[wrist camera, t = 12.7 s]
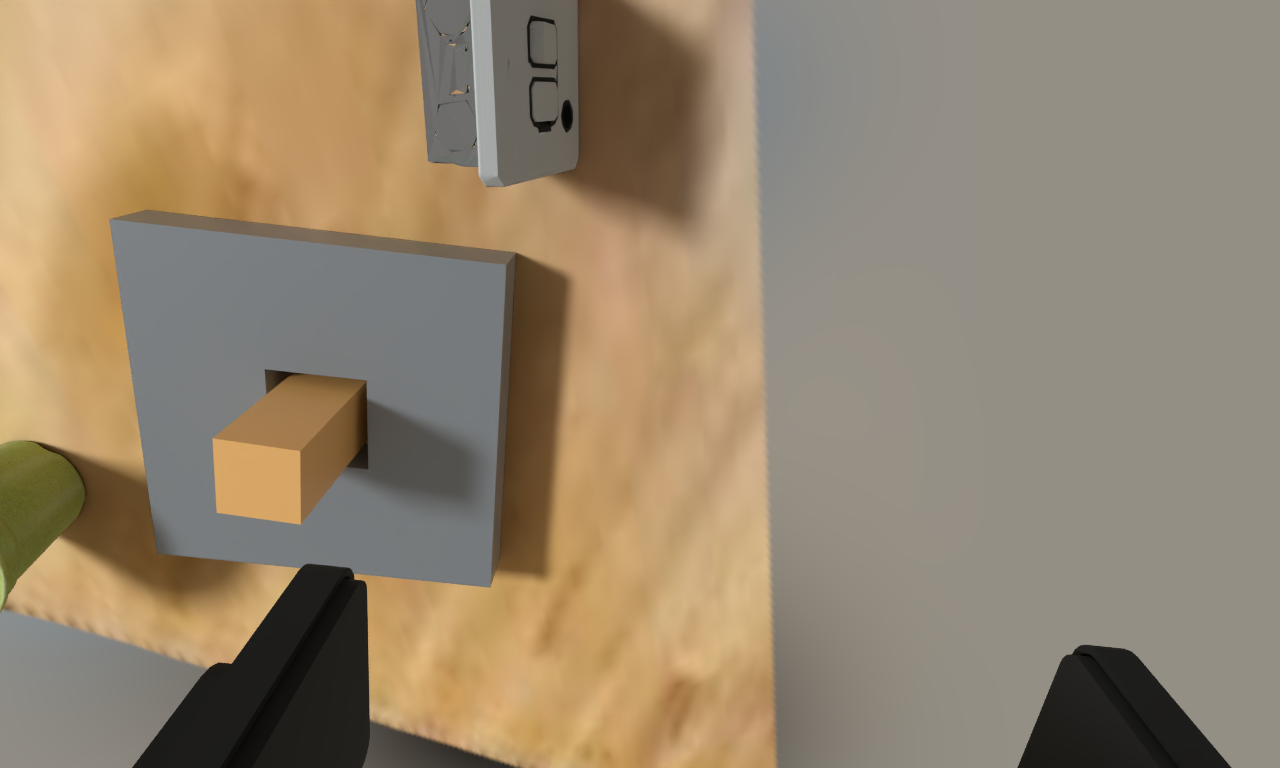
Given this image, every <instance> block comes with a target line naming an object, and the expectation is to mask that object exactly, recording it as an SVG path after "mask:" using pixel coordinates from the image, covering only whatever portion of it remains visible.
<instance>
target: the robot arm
mask: <svg viewBox="0 0 1280 768" xmlns="http://www.w3.org/2000/svg"><path fill="white" fill-rule="evenodd" d="M369 738H370V716H369V666H368V616H367V586H366V583H365V581H361V580H354V574H353V571H352V569H350V568H347V567H337V566H328V565H318V564H309V563H308V564H305V565H304V566H303V567H302V568H301V569H300V570H299V571H298V573H297V574H296V575H295V577H294V578H293V580H292V581H291V582H290V584H289V585H288V586H287V588H286V589H285V591H284V592H283V593H282V595H281V596H280V598H279V599H278V600H277V602H276V603H275V605H274V606H273V607H272V609H271V610H270V612H269V613H268V614H267V616H266V617H265V618H264V620H263V621H262V623H261V624H260V625H259V627H258V628H257V630H256V631H255V632H254V634H253V635H252V637H251V638H250V639H249V641H248V642H247V643H246V645H245V646H244V648H243V649H242V650H241V652H240V653H239V655H238V656H237V657H236V659H235V660H234V662H233V663H232V664H228V663H217V664H215V665H213V666H211V667H210V668H209V669H208V670H207V671H206V672H205V673H204V674H203V675H202V676H201V677H200V679H199V680H198V681H197V683H196V684H195V685H194V687H193V688H192V689H191V691H190V692H189V693H188V695H187V696H186V697H185V699H184V700H183V701H182V703H181V704H180V705H179V706H178V708H177V709H176V711H175V712H174V713H173V714H172V716H171V717H170V718H169V720H168V721H167V722H166V724H165V725H164V726H163V728H162V729H161V730H160V732H159V733H158V734H157V736H156V737H155V738H154V740H153V741H152V742H151V743H150V745H149V746H148V748H147V749H146V750H145V752H144V753H143V754H142V755H141V757H140V758H139V759H138V761H137V762H136V763H135V765H134V766H133V767H132V768H362V766H363V764H364V761H365V758H366V754H367V750H368V746H369ZM1018 768H1231V767H1230V766H1229V764H1228V763H1227V762H1226V761H1225V760H1224V758H1223V757H1222V756H1221V755H1220V754H1219V753H1218V751H1217V750H1216V749H1215V748H1214V747H1213V745H1212V744H1211V743H1210V742H1209V741H1208V740H1207V738H1206V737H1205V736H1204V735H1203V734H1202V732H1201V731H1200V730H1199V729H1198V728H1197V726H1196V725H1195V724H1194V723H1193V722H1192V721H1191V719H1190V718H1189V717H1188V716H1187V715H1186V713H1185V712H1184V711H1183V710H1182V709H1181V708H1180V706H1179V705H1178V704H1177V703H1176V702H1175V701H1174V699H1173V698H1172V697H1171V696H1170V695H1169V693H1168V692H1167V691H1166V690H1165V689H1164V688H1163V686H1162V685H1161V684H1160V683H1159V682H1158V680H1157V679H1156V678H1155V677H1154V676H1153V675H1152V673H1151V672H1150V671H1149V670H1148V669H1147V667H1146V666H1145V665H1144V664H1143V663H1142V662H1141V660H1140V659H1139V658H1138V657H1137V656H1136V655H1135V654H1133V653H1132V652H1131V651H1129V650H1126V649H1121V648H1112V647H1101V646H1092V645H1081V646H1079V647H1078V648H1077V649H1075V650H1074V652H1073V654H1072V655H1066V656H1065V657H1064V658H1063V659H1062V661H1061V662H1060V665H1059V667H1058V670H1057V672H1056V675H1055V677H1054V680H1053V682H1052V685H1051V687H1050V689H1049V692H1048V694H1047V697H1046V699H1045V702H1044V704H1043V707H1042V709H1041V712H1040V714H1039V716H1038V719H1037V721H1036V724H1035V726H1034V729H1033V731H1032V734H1031V736H1030V739H1029V741H1028V743H1027V746H1026V748H1025V751H1024V753H1023V756H1022V758H1021V761H1020V763H1019V766H1018Z"/></svg>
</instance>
